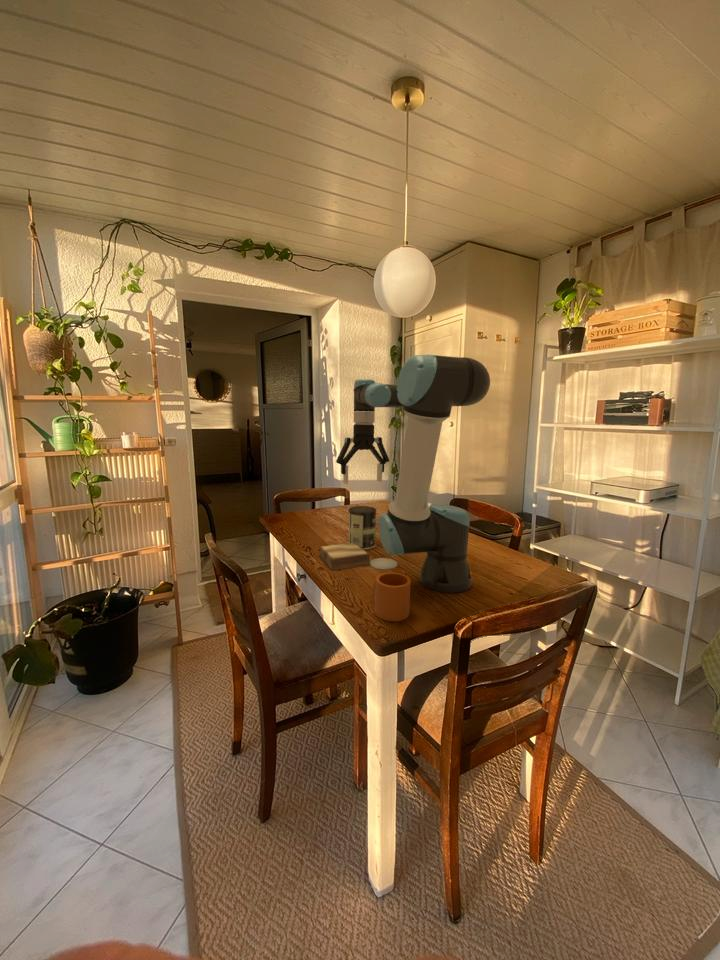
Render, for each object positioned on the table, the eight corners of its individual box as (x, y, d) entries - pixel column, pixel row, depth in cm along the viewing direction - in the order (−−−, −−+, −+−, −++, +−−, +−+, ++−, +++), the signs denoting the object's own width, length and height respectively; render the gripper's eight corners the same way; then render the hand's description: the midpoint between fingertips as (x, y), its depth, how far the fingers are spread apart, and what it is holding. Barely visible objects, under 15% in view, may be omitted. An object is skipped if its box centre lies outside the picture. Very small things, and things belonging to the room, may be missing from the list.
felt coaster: (402, 567, 130) (402, 565, 130) (377, 571, 126) (377, 569, 126) (389, 557, 138) (389, 556, 138) (365, 561, 134) (365, 560, 134)
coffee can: (375, 541, 156) (376, 506, 153) (375, 550, 145) (376, 512, 143) (348, 540, 156) (349, 505, 153) (347, 549, 146) (348, 512, 143)
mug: (394, 596, 109) (396, 565, 108) (415, 618, 98) (418, 584, 97) (364, 601, 106) (365, 569, 105) (382, 624, 95) (384, 589, 94)
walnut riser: (369, 564, 132) (369, 554, 131) (332, 570, 126) (332, 559, 126) (354, 551, 143) (354, 541, 143) (319, 556, 138) (319, 546, 138)
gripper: (389, 423, 151) (388, 478, 155) (327, 423, 141) (327, 482, 145) (399, 424, 144) (397, 481, 148) (334, 424, 134) (334, 485, 138)
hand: (362, 482), depth 146 cm, fingers open, 13 cm apart
